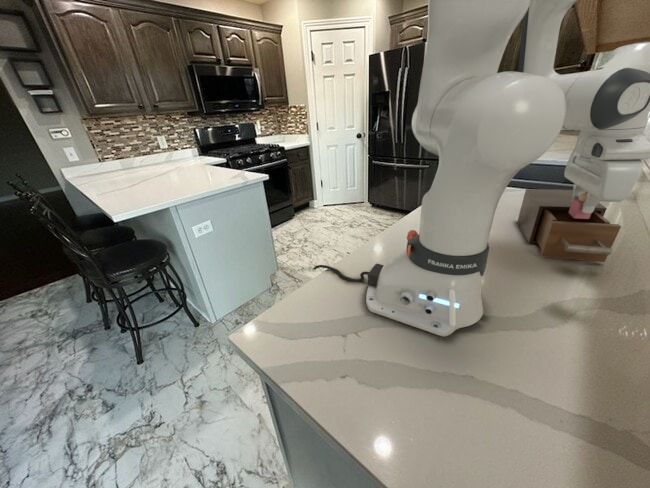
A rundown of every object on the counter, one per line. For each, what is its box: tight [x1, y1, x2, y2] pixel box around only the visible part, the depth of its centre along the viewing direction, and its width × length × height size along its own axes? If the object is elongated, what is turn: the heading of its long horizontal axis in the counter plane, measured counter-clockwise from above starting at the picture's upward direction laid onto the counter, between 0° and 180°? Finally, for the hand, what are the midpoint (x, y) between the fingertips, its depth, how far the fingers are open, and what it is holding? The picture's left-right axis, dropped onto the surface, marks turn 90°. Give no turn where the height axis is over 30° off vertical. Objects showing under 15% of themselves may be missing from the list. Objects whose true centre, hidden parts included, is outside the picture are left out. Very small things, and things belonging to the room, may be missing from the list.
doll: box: [568, 192, 591, 219], centre depth 58 cm, size 3×4×6 cm
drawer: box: [534, 209, 622, 263], centre depth 61 cm, size 18×11×9 cm, turn 157°
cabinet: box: [516, 188, 607, 245], centre depth 71 cm, size 15×13×11 cm
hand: (581, 208), depth 58 cm, fingers closed on doll, 3 cm apart
